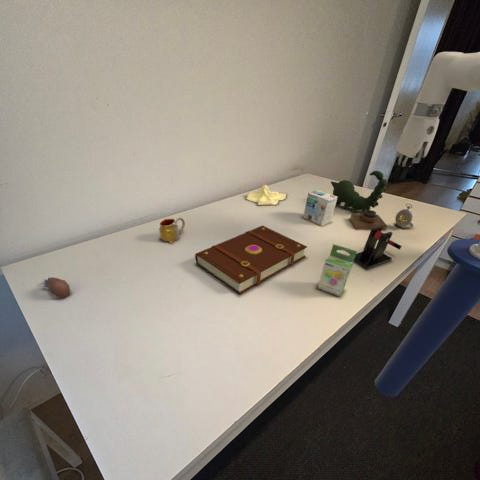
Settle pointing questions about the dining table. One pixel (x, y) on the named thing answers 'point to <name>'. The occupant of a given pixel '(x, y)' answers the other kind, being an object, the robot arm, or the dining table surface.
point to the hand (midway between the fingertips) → (398, 178)
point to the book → (250, 258)
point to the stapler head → (389, 240)
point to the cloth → (265, 196)
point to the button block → (367, 221)
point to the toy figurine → (353, 199)
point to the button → (370, 213)
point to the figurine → (57, 287)
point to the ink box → (336, 270)
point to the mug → (170, 229)
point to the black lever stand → (374, 250)
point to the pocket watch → (404, 218)
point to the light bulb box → (320, 207)
